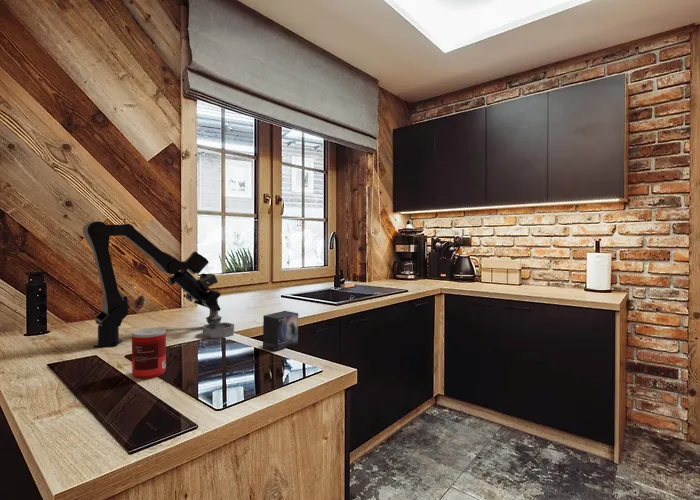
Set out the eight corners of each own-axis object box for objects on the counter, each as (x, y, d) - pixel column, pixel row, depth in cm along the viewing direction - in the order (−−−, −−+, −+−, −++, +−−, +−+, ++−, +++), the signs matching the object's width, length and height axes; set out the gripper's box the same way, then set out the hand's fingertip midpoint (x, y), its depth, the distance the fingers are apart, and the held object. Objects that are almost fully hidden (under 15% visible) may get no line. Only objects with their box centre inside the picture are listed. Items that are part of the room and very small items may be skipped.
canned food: (157, 366, 103) (157, 325, 102) (171, 373, 98) (171, 330, 97) (126, 374, 97) (126, 331, 96) (140, 382, 92) (139, 336, 91)
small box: (277, 351, 117) (277, 317, 117) (261, 348, 121) (261, 315, 120) (299, 343, 126) (299, 312, 126) (284, 340, 130) (284, 310, 129)
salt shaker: (216, 329, 145) (216, 297, 144) (202, 328, 146) (202, 296, 145) (224, 325, 150) (224, 295, 150) (211, 324, 152) (211, 294, 151)
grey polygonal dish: (232, 337, 133) (232, 328, 133) (201, 338, 131) (201, 330, 131) (234, 330, 143) (234, 322, 143) (205, 331, 141) (205, 323, 141)
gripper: (215, 269, 138) (242, 296, 146) (193, 265, 151) (219, 291, 159) (193, 292, 133) (223, 319, 141) (173, 287, 146) (201, 312, 154)
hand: (217, 309), depth 149 cm, fingers closed on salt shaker, 4 cm apart
